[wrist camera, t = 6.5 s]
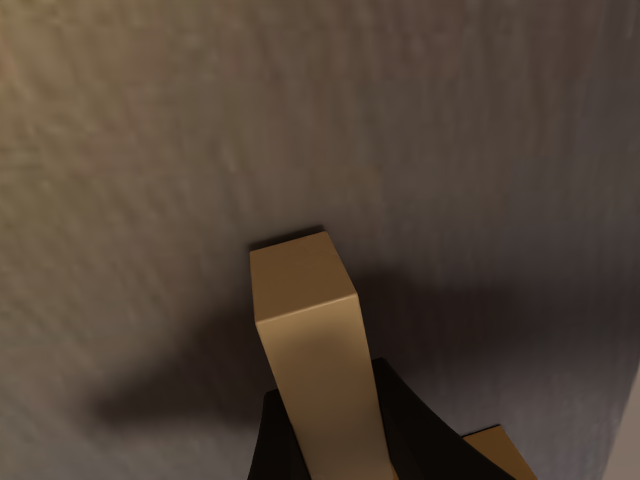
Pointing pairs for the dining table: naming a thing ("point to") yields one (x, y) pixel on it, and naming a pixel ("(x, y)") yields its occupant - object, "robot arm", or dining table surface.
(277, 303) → the knife
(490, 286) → the dining table surface
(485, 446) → the sponge cake
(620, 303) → the dining table surface
